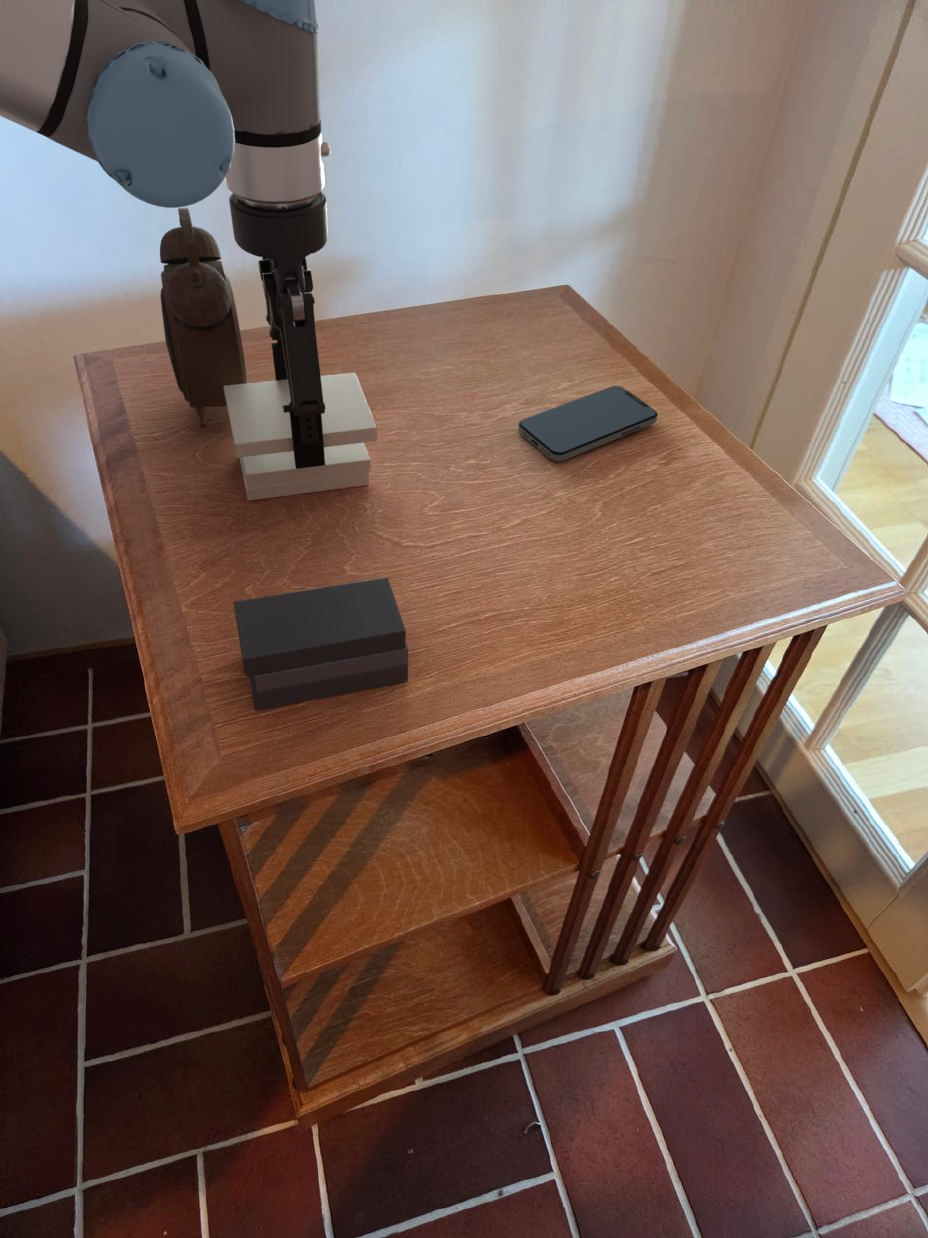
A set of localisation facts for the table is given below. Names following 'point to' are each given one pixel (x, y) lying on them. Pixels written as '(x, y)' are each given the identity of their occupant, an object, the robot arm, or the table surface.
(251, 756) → the table surface
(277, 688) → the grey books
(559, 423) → the smartphone
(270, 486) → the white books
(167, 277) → the alarm clock
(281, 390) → the light grey rectangular slab
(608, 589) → the table surface
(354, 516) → the table surface
